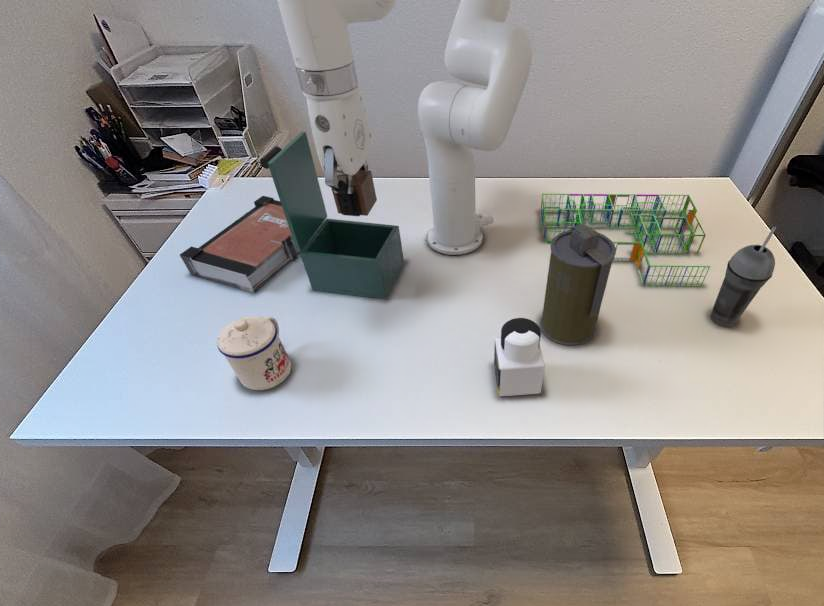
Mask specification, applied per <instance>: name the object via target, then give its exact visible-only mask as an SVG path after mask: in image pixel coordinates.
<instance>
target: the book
mask: <svg viewBox="0 0 824 606" xmlns="http://www.w3.org/2000/svg"><path fill="white" fill-rule="evenodd" d="M253 204H254V207H253V208H251V209H250V210H248V211H247V212H246V213H244V214H243V215H242V216H241V217H238V219H236V220H235V221H234V222H232V223H231V224H229V225H228V226H227V227H225V228H224V229H223V230H221V231H219V232H218V233H216V235H214V236H212V238H210V239H208V240H207V241H206V242H204V243H203V244H201V245H200V246H199V247H195V246H189V247H188V248H187V249H185V250H184V251H183V252H181V253H180V254H179V256H180V258H181V260H182V262H183V264H184V265H185V267H186V268H187V270H188V272H189V274H190V275H191V276H194V277H197V278H201V279H203V280H207V281H210V282H215V283H218V284H221V285H225V286H229V287H232V288H235V289H238V290H242V291H246V292H250V293H253V294H255V293H256V292H258V291H259V290H260V289H261V288H262V287H263V286H265V285H266V284H267V283H268V282H269V281H270V280H271V279H272V278H273V277H275V276H276V275H277V274H278V273H279V272H280V271H281V270H282V269H283V268H285V267H286V266H287V265H288V264H289V263H290V262H291V261H295V260H296V259H297V257H298V255H300V252H301V251H302V250H303V249H302V250H301V251H297V250H296V247H295V244H294V241H293V238H292V235H291V232H290V229H289V226H288V223H287V220H286V217H285V214H284V211H283V208H282V205H281V202H280V200H277V199H275V198H274V197H270V196H267V195H262V196H260V197H259V198H257V199H256V200H255V201H253ZM322 224H323V223H322ZM322 224H321V225H322ZM319 228H320V227H319ZM319 228H318V229H319ZM318 229H317V230H318ZM315 233H316V232H315ZM315 233H314V234H315ZM312 237H313V236H312ZM312 237H311V238H312ZM308 242H309V241H308ZM308 242H307V243H308ZM305 246H306V245H305ZM305 246H304V247H305Z"/></svg>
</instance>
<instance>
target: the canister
mask: <svg viewBox="0 0 824 606" xmlns="http://www.w3.org/2000/svg"><path fill="white" fill-rule="evenodd" d="M573 226H574V225H573ZM563 231H564V230H563ZM550 241H551V244H550V256H549V263H548V271H547V279H546V286H545V294H544V300H543V308H542V315H541V318H540V321H539V328H540V330H541V333H543V335H544V336H545V337H546V338H547V339H548V340H550V341H552V342H555V343H557V344H559V345H564V346H578V345H582V344H585V343H586V342H588V341H590V340H591V339H592V338H593V337H594V335H595V333H596V331H597V323H598V320H599V314H600V311H601V307H602V304H603V303H602V302H603V300H604V295H605V291H606V289H607V284H608V280H609V276H610V272H611V268H612V265H613V262H614V261H613V259H614V258H616V254H617V250H616V244H615V245H614V243H613V242H614V241H613V240H611V239H610V238H609V237H608V236H606V235H605V234H603V233H600V232H599V231H597V230H596V229H594V228H592V227H590V226H588V225H587V224H586V225H585V223H582V224H580V225H577V226H574V227H572V228H571V227H569V229H568V230H565V231H564V232H559V233H558V234H557V235H556V234H555V237H554V236H553V238H552V239H551V240H550ZM614 260H615V259H614Z"/></svg>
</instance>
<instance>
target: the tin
mask: <svg viewBox="0 0 824 606" xmlns="http://www.w3.org/2000/svg"><path fill="white" fill-rule="evenodd" d="M299 256H300V259H301V261H302V264H303V267H304V270H305V272H306V275H307V278H308V281H309V283H310V286H311V289H312V291H314V292H315V291H316V292H324V293H330V294H339V295H347V296H356V297H364V298H372V299H380V300H387V298H388V296H389V295H390V292H391V290H392V288H393V286H394V285H395V282H396V280H397V278H398V276H399V274H400V273H401V270H402V268H403V266H404V264H405V258H404V252H403V244H402V238H401V232H400V226H399V225H393V224H383V223H373V222H364V221H354V220H347V219H346V220H345V219H337V218H336V219H334V218H326V219H325V220H324V222H323V224H322V225H321V226H320V228H319V229H318V230H317V231H316V233H315V234H314V235H313V237H312V238H311V239H310V240H309V242H308V243H307V244H306V246H305V247H304V248H303V250H302V251H301V252H300V253H299Z"/></svg>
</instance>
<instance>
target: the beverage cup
mask: <svg viewBox="0 0 824 606" xmlns="http://www.w3.org/2000/svg"><path fill="white" fill-rule="evenodd" d="M776 230H777V227H776V226H772V228H771V229H770V231H769V233H768V234H767V236H766V238H765V239H764V241H763V243H762V245H761V244H750V245H746V246H744V247H742V248H740V249H738V250H737V251H736V252H735V253H734V254H732V256H731V258H730V259H729V260H728V261H727V264H726V269H725V275H724V278H723V280H722V283H721V286H720V288H719V291H718V294H717V296H716V299H715V302H714V305H713V307H712V311H711V313H710V320H711V321H712V322H713V323H714V324H716V325H718V326H719V327H725V328H730V327H733V326H734V325H735V324H736V322H737V321H738V320H739V319H740V318H741V316H742V315H743V314H744V312H745V311H746V310H747V308H748V307H749V305H751V302H752V301H753V300H754V298H755V297H756V296H757V294H758V293H759V291H760V290H761V289H762V288H763V287H764V286H765V284H766V283H767V282H768V281H769V280H770V279H771V278H772V277H773V274H774V272H775V271H774V270H775V266H776V258H775V256H774V253H773V252H772V251H771V250H770V249H769V248H768V247H767V245H768V243H769V241H770V239H771V238H772V236H773V235H774V233H775V231H776Z"/></svg>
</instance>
